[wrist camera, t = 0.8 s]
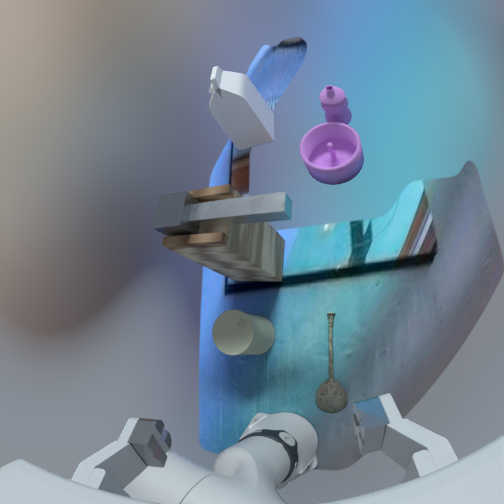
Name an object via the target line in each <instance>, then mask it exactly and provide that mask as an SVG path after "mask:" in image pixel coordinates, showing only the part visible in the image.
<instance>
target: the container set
mask: <svg viewBox="0 0 504 504" xmlns="http://www.w3.org/2000/svg"><path fill="white" fill-rule="evenodd" d="M320 101H321V106H322V108H323V109H324V111H325V118H326V121H327V123H323V124H319V125H317V126H315V127H313V128H312V129H310V130H309V131H308V132H307V133H306V134H305V136H304V137H303V139H302V141H301V143H300V155H301V157H302V159H303V161H304V163H305V165H306V167H307V169H308V171H309V173H310V174H311V175H312V177H313V178H314V179H316V180H317V181H319V182H321V183H325V184H330V185H336V184H342V183H345V182H347V181H350V180H351V179H353V178H354V177H355V176H356V175H357V174H358V173H359V172H360V170H361V169H362V166H363V162H364V157H363V151H362V146H361V141H360V138H359V135H358V134H357V132H356V131H355V130H354V129H353V128H352V127H350V126H348V125H347V124H348V123H349V122H350V120H351V117H352V115H351V111H350V109H349V108H348V107H347V106H348V100H347V99H346V97H345V93H344V91H342V89H340V88H338V87H333V86H331V85H329V86H326V88H325V89H324V90H323V91H322V92H321V93H320Z"/></svg>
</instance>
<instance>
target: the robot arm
mask: <svg viewBox="0 0 504 504" xmlns="http://www.w3.org/2000/svg"><path fill="white" fill-rule="evenodd" d="M354 412H355V414H354V415H353V426H354V431H355V435H356V436H358V445H359V449H360V452H361V455H362V454H366V453H370V452H374V451H378V450H381V451H382V452H383V453H385V454H386V455H387V456H388V457H390V458H391V459H392V460H394V461H395V462H396V463H398V464H399V465H400V466H402V467H403V468H404V469H406V473H405V475H404V477H403V479H402V481H401V483H400V484H399V485H395V486H393V487H389V488H386V489H383V490H379V491H376V492H372V493H368V494H364V495H360V496H356V497H352V498H347V499H343V500H338V501H332V502H327V503H321V504H504V435H502V436H500V437H499V438H497V439H496V440H494V441H492V442H491V443H489V444H487V445H485V446H484V447H482V448H480V449H479V450H477V451H475V452H473V453H471V454H469V455H467V456H465V457H464V458H461V459H459V460H458V459H457V457H456V455H455V453H454V451H453V449H452V447H451V445H450V443H449V442H448V440H447V439H446V438H443V437H442V436H439V435H437V434H435V433H433V432H431V431H429V430H427V429H425V428H423V427H421V426H419V425H417V424H416V423H413V422H411V421H410V420H408V419H402V417H401V415H400V413H399V411H398V408H397V406H396V404H395V402H394V400H393V398H392V396H391V394H389V393H388V394H385V395H381V396H378V397H373V398H370V399H366V400H362V401H358V402H354ZM256 420H257V422H256ZM317 445H318V439H317V434H316V432H315V430H314V428H313V426H312V425H311V424H310V423H309V422H308V421H307V420H306V419H304V418H303V417H301V416H299V415H296V414H293V413H286V412H283V413H276V414H266V413H257V414H256V415H255V416H254V418H253V419H252V421H251V423H250V424H249V426H248V427H247V429H246V430H245V432H244V433H243V435H242V437H241V438H240V440H239V441H238V442H237V444H235V445H233V446H231V447H229V448H227V449H225V450H224V451H222V452H221V453H220V454H219V456H218V457H217V459H216V461H215V463H214V467H213V471H211V470H209V469H207V468H205V467H203V466H201V465H199V464H198V463H196V462H194V461H192V460H190V459H188V458H186V457H185V456H183V455H181V454H179V453H176V452H174V451H171V450H170V447H171V436H170V434H169V432H168V431H167V430H165V429H164V423H163V422H162V420H154V419H144V418H133V417H131V418H130V419H128V421H127V423H126V425H125V427H124V429H123V431H122V433H121V435H120V437H119V439H118V441H114V442H112V443H111V444H110V445H108V446H106V447H105V448H103V449H102V450H100V451H98V452H97V453H95V454H94V455H92V456H90V457H89V458H87V459H85V460H84V461H82V462H81V463H80V464H79V466H78V468H77V470H76V472H75V473H74V476H73V477H72V479H71V480H70V479H67V478H64V477H62V476H59V475H57V474H54V473H52V472H50V471H47V470H45V469H43V468H41V467H38V466H36V465H34V464H32V463H30V462H28V461H26V460H23V459H18V460H15V461H13V462H11V463H9V464H7V465H5V466H3V467H1V468H0V504H287V503H286V502H285V501H284V500H283V499H282V498H281V497H280V495H279V494H278V492H277V488H279V489H280V488H283V487H284V486H286V485H287V482H289V481H292V480H294V479H296V478H297V477H299V476H301V475H303V474H305V473H307V472H309V471H310V470H312V469H314V468H315V467H316V466H317V465H318V459H317V456H316V450H317ZM308 466H309V467H308Z"/></svg>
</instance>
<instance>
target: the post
mask: <svg viewBox="0 0 504 504" xmlns="http://www.w3.org/2000/svg"><path fill="white" fill-rule="evenodd" d="M188 192H189V193H190V194H192V195H193V196H194V197H195V198H197V199H198V200H199V201H201V202H202V203H205V202H211V201H218V200H225V199H232V198H239V197H243V196H242V195H241V194H240V193H239V192H238V191H237V190H236V189H234V188H233V187H232V186H231V185H230V184H227V185H221V186H215V187H210V188H204V189H199V190H193V191H188ZM284 243H285V240H284V239H283V238H282V237H281V236H280V235H279V233H278V232H277V231H276V230H275V229H274V228H273V227H272V226H271V225H270V224H269V223H268V222H260V223H248V224H236V225H225V226H215V227H204V228H199V234H192V235H181V236H170V237H164V238H163V243H162V245H163V246H165V247H167V248H169V249H170V250H171V251H174V252H176V253H178V254H180V255H182V256H184V257H186V258H188V259H190V260H192V261H194V262H196V263H198V264H200V265H203V266H205V267H207V268H209V269H211V270H213V271H215V272H217V273H220V274H222V275H224V276H226V277H228V278H230V279H232V280H235V281H282V271H283V257H284Z"/></svg>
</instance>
